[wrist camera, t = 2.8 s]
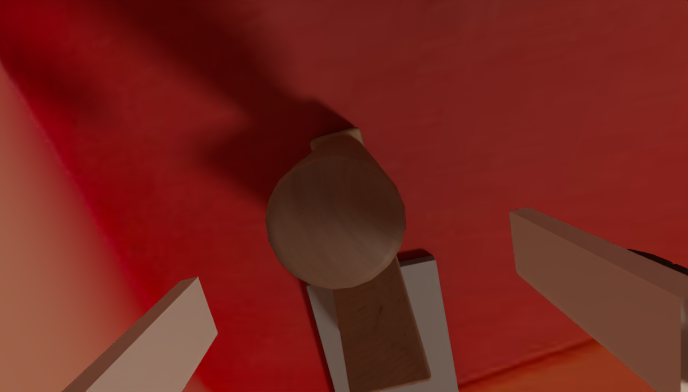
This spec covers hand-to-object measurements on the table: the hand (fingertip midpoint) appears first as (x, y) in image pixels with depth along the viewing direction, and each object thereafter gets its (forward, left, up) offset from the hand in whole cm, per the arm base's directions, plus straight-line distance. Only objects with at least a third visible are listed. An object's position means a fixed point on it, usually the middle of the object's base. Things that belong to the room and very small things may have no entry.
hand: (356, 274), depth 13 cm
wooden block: (0, 0, -14) cm, 14 cm away
